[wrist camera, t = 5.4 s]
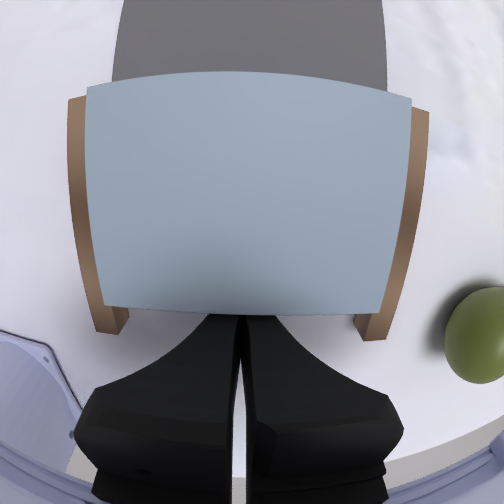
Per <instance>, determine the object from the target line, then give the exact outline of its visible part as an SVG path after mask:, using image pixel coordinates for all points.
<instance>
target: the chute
mask: <svg viewBox="0 0 504 504" xmlns="http://www.w3.org/2000/svg"><path fill="white" fill-rule="evenodd" d="M85 111H86V95H85V96H81V97H77V98H73V99H69V100H68V118H67V163H68V182H69V195H70V205H71V214H72V222H73V229H74V236H75V242H76V248H77V254H78V259H79V265H80V270H81V274H82V279H83V283H84V288H85V292H86V296H87V300H88V304H89V308H90V311H91V315H92V319H93V322H94V325H95V329H96V332H102V333H109V334H116V335H119V333H120V331H121V329H122V328H123V326H124V324H125V323H126V321H127V319H128V317H129V314H128V309H127V308H126V307H116V306H107V305H104V301H103V297H102V292H101V287H100V283H99V278H98V272H97V267H96V262H95V256H94V249H93V243H92V236H91V228H90V220H89V211H88V201H87V188H86V171H85ZM428 129H429V112H427V111H424V110H421V109H418V108H415V107H411V135H410V150H409V161H408V171H407V180H406V188H405V196H404V203H403V209H402V215H401V221H400V227H399V232H398V237H397V242H396V247H395V252H394V257H393V261H392V265H391V270H390V274H389V278H388V282H387V286H386V290H385V293H384V297H383V301H382V304H381V308H380V311H379V313H367V314H356V316H355V319H354V325H355V326H356V328H357V330H358V332H359V334H360V336H361V338H362V340H363V341H375V340H385V339H386V337H387V335H388V332H389V329H390V326H391V323H392V320H393V317H394V314H395V311H396V308H397V304H398V301H399V298H400V294H401V291H402V287H403V284H404V280H405V277H406V273H407V269H408V265H409V261H410V257H411V252H412V248H413V243H414V239H415V234H416V229H417V223H418V218H419V212H420V206H421V200H422V193H423V186H424V178H425V169H426V159H427V146H428Z"/></svg>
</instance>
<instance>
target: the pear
mask: <svg viewBox="0 0 504 504" xmlns="http://www.w3.org/2000/svg"><path fill="white" fill-rule="evenodd" d="M444 350H445V355H446V358H447V361H448V363H449V365H450V367H451V368H452V370H453V371H454V372H455V373H456V374H457V375H458V376H459V377H460V378H462V379H464V380H466V381H468V382H471V383H476V384H484V383H489V382H492V381H495V380H497V379H499V378H500V377H502V376H503V375H504V287H492V288H484V289H480V290H477V291H475V292H473V293H471V294H469V295H468V296H466V297H465V298H464V299H463V300H462V301H461V302H460V303H459V304H458V305H457V307H456V308H455V310H454V311H453V313H452V315H451V316H450V318H449V321H448V323H447V326H446V330H445V336H444Z"/></svg>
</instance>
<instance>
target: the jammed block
mask: <svg viewBox="0 0 504 504" xmlns="http://www.w3.org/2000/svg"><path fill="white" fill-rule="evenodd" d="M411 107H412V99H411V98H407V97H404V96H401V95H397V94H393V93H390V92H386V91H382V90H378V89H374V88H370V87H365V86H361V85H356V84H351V83H346V82H340V81H335V80H328V79H322V78H315V77H308V76H299V75H290V74H278V73H264V72H236V71H218V72H190V73H176V74H165V75H155V76H147V77H140V78H133V79H127V80H121V81H115V82H110V83H105V84H100V85H95V86H91V87H87V95H86V111H85V171H86V188H87V201H88V211H89V220H90V228H91V236H92V243H93V249H94V256H95V262H96V267H97V272H98V278H99V283H100V287H101V292H102V297H103V301H104V305H107V306H116V307H126V308H137V309H149V310H161V311H175V312H191V313H211V314H238V315H341V314H367V313H379V311H380V308H381V304H382V301H383V297H384V293H385V290H386V286H387V282H388V278H389V274H390V270H391V265H392V261H393V257H394V252H395V247H396V242H397V237H398V232H399V227H400V221H401V215H402V209H403V203H404V196H405V188H406V180H407V171H408V161H409V150H410V135H411Z"/></svg>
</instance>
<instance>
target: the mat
mask: <svg viewBox="0 0 504 504" xmlns="http://www.w3.org/2000/svg"><path fill="white" fill-rule="evenodd" d="M218 71H236V72H264V73H278V74H290V75H299V76H308V77H315V78H322V79H328V80H335V81H340V82H346V83H351V84H356V85H361V86H365V87H370V88H374V89H378V90H382V91H386V92H387V59H386V41H385V28H384V17H383V8H382V0H124V3H123V8H122V13H121V18H120V23H119V29H118V35H117V41H116V48H115V56H114V64H113V74H112V82H115V81H121V80H127V79H133V78H140V77H147V76H155V75H165V74H176V73H190V72H218Z"/></svg>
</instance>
